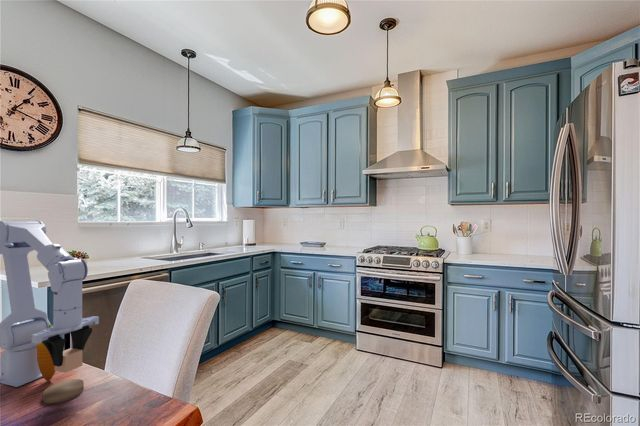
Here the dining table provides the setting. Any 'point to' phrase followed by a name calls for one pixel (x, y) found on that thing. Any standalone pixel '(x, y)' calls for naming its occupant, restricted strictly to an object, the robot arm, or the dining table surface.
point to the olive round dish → (63, 391)
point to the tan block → (71, 360)
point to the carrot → (45, 361)
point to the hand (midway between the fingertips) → (67, 361)
